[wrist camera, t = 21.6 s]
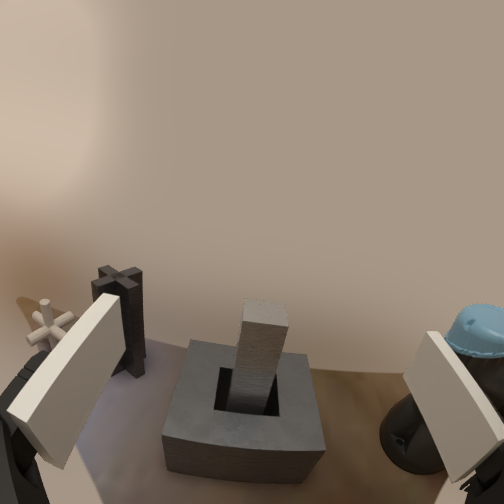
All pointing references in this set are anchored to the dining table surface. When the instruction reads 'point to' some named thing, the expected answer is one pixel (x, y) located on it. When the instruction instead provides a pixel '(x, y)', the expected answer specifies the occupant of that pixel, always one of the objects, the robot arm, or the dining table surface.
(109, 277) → the cross bit
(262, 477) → the bore block
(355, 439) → the dining table surface
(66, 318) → the pipe connector
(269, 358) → the square bit
